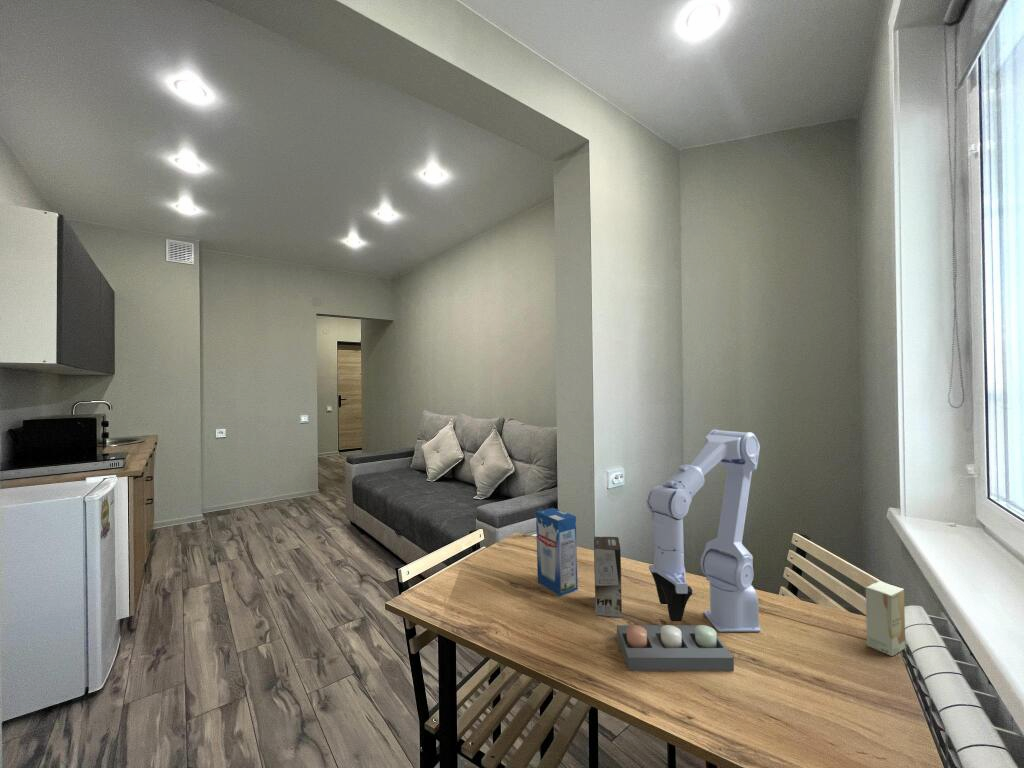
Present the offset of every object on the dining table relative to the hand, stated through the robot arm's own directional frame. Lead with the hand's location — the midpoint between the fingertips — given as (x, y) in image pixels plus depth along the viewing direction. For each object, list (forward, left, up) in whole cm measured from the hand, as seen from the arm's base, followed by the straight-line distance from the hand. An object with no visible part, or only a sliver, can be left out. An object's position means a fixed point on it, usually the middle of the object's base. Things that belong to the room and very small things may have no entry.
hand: (670, 611), depth 86 cm
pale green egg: (-7, 0, -7) cm, 10 cm away
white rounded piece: (0, 0, -7) cm, 7 cm away
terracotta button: (+7, 0, -7) cm, 10 cm away
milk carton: (+22, -29, -9) cm, 37 cm away
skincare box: (-44, -2, -9) cm, 45 cm away
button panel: (0, 0, -8) cm, 8 cm away
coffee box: (+10, -18, -9) cm, 22 cm away
